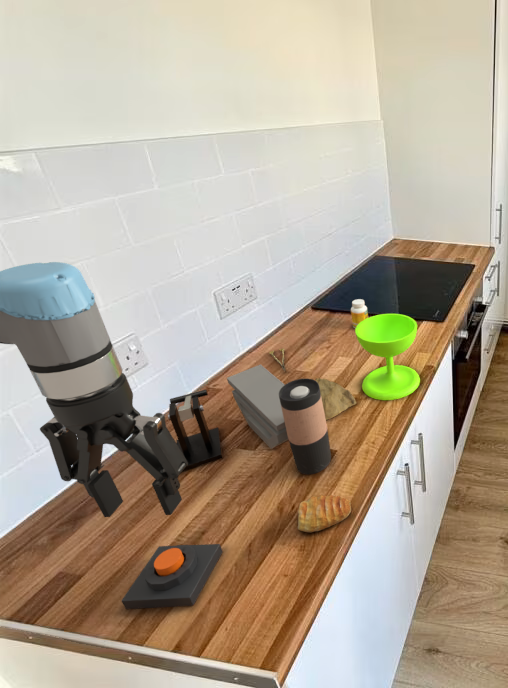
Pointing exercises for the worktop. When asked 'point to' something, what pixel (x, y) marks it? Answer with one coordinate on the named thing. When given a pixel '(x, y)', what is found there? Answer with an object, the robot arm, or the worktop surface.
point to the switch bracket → (196, 438)
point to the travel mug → (306, 425)
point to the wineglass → (388, 355)
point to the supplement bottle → (358, 312)
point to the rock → (334, 398)
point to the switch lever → (187, 404)
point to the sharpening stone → (260, 403)
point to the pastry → (322, 512)
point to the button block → (174, 579)
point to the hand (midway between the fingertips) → (144, 508)
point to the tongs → (278, 360)
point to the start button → (169, 562)
